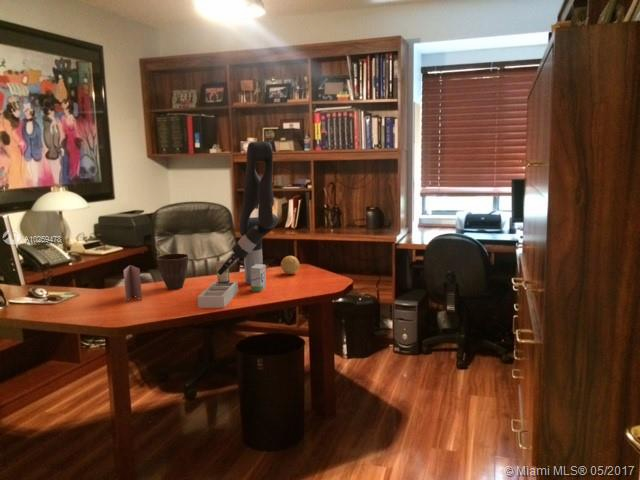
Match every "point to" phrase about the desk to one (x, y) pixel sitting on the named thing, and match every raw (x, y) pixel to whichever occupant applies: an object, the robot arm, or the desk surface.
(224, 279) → the tall wooden block
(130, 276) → the greeting card
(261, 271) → the ink box
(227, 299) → the grey compartment tray
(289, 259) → the stress ball
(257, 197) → the robot arm
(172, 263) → the plant pot
